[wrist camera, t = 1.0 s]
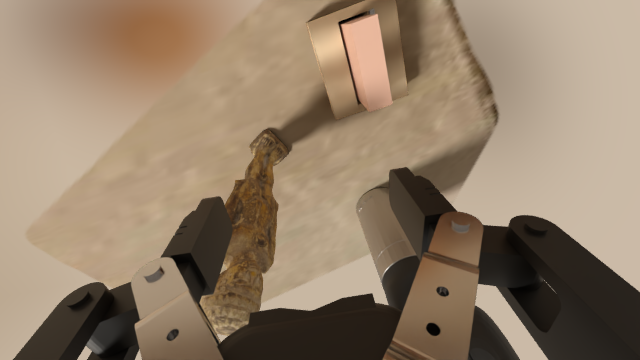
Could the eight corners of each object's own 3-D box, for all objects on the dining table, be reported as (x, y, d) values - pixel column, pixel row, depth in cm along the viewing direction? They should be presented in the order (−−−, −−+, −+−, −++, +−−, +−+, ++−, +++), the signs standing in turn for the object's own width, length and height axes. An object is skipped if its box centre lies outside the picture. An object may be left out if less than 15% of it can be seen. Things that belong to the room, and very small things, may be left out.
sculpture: (294, 151, 44) (298, 322, 19) (270, 173, 46) (244, 357, 21) (263, 124, 41) (219, 284, 16) (239, 149, 43) (164, 329, 18)
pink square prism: (372, 88, 40) (392, 104, 32) (354, 94, 40) (369, 112, 32) (357, 16, 35) (377, 13, 27) (336, 24, 35) (350, 24, 27)
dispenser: (398, 89, 40) (409, 96, 37) (332, 112, 41) (337, 121, 37) (384, -8, 34) (396, -12, 30) (305, 23, 35) (307, 22, 31)
